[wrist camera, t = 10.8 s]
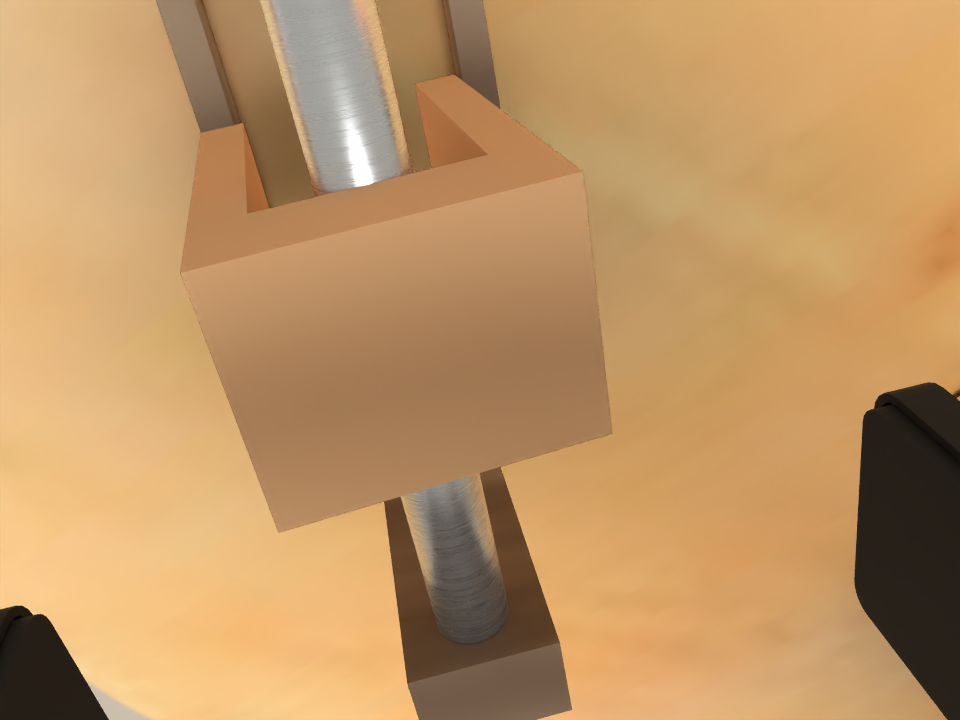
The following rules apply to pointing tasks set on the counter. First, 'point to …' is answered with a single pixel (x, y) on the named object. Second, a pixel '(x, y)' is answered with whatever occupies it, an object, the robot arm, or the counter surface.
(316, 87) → the rail
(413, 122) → the counter surface
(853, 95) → the counter surface
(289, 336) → the u-slot holder
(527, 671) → the stand
